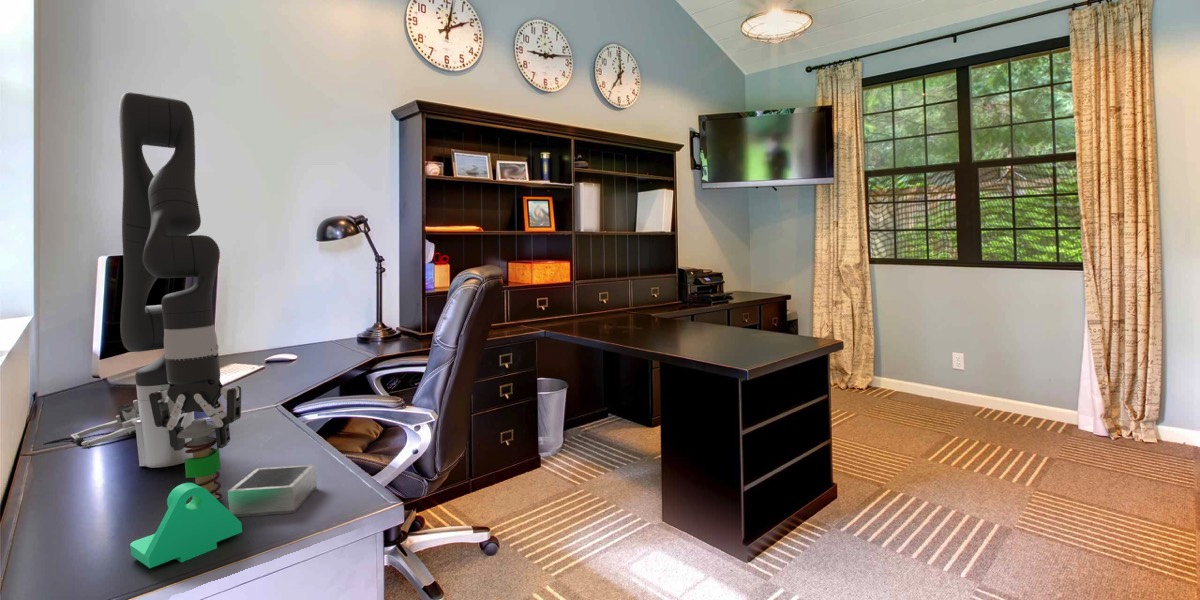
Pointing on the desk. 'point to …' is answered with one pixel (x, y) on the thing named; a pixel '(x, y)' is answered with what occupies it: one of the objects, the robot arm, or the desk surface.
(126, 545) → the desk surface
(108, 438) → the bike brake
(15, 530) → the desk surface
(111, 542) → the desk surface
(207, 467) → the shock absorber
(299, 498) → the square tray
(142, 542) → the camera mount
